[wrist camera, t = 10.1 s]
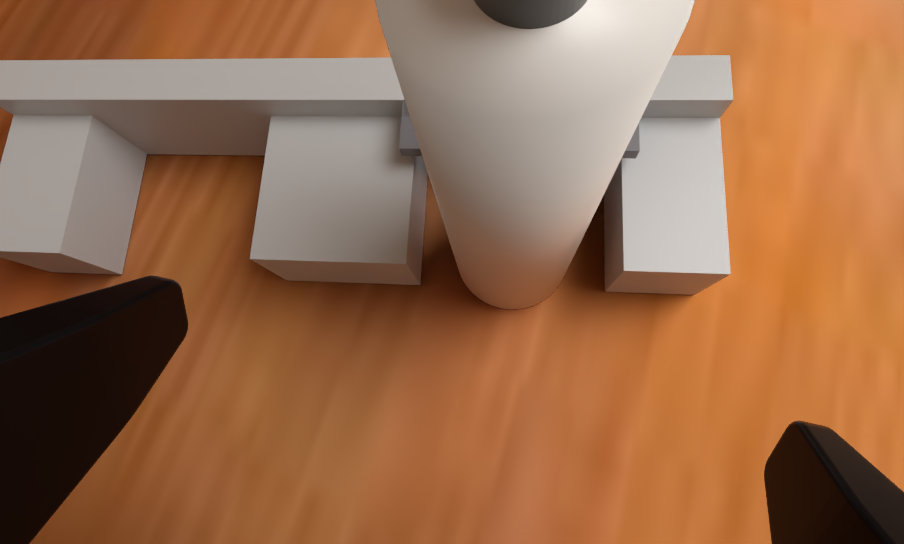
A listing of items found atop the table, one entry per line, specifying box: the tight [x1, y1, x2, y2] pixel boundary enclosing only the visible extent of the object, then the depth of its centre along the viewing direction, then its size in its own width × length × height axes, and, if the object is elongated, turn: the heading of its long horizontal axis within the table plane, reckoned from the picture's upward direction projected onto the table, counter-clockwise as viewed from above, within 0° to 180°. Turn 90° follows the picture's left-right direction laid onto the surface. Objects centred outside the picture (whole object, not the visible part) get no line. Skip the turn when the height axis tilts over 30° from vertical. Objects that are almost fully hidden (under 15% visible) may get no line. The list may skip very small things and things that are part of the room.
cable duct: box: [0, 55, 733, 295], centre depth 18 cm, size 24×6×4 cm, turn 87°
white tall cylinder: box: [375, 0, 694, 310], centre depth 12 cm, size 4×4×14 cm
